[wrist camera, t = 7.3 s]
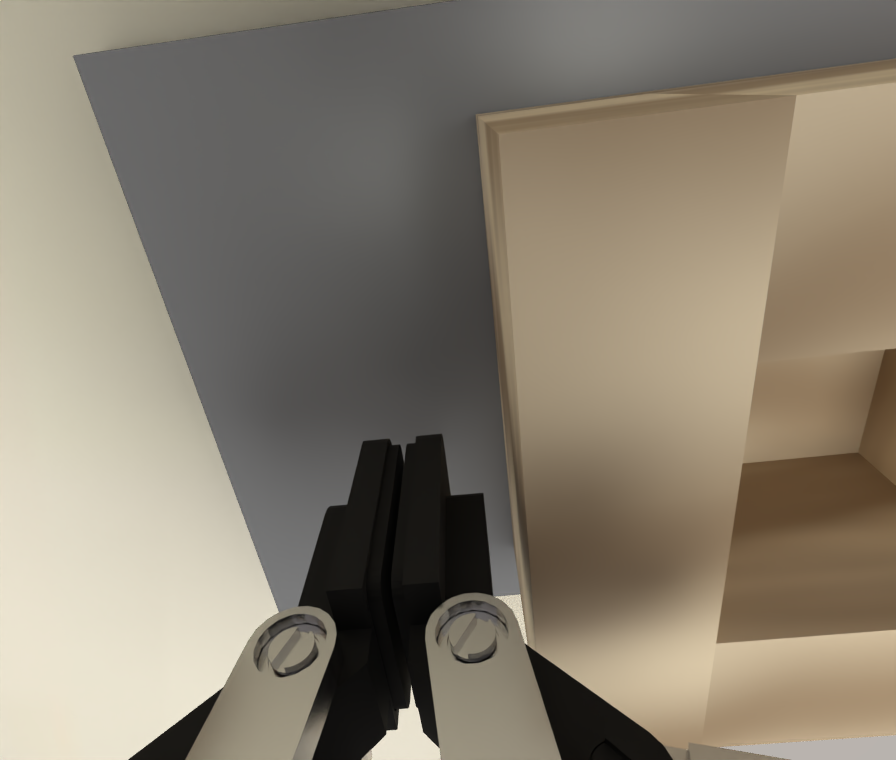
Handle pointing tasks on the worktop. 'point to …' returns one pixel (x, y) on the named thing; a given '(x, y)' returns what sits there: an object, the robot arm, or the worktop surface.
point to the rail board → (382, 216)
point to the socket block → (705, 397)
